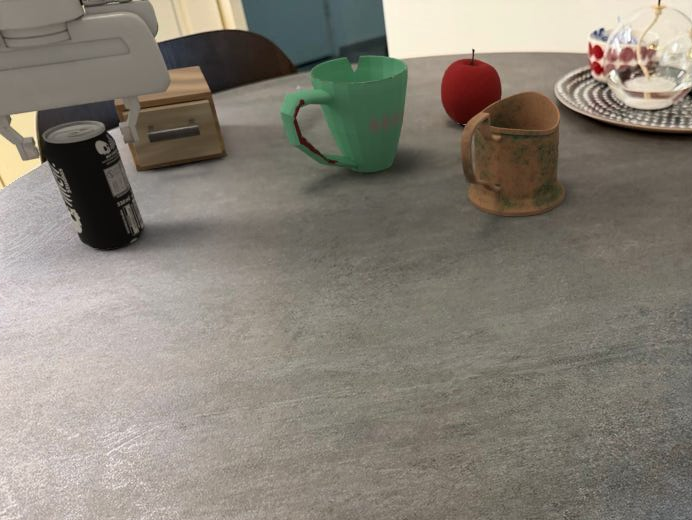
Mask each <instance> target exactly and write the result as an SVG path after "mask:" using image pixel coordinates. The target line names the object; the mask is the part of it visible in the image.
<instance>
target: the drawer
mask: <svg viewBox="0 0 692 520" xmlns="http://www.w3.org/2000/svg"><path fill="white" fill-rule="evenodd" d="M129 111H130V110H129ZM129 111H125V112H123V117H124V120H125V122H126V121H127V119H128V115H129ZM136 128H137V131H138V134H139V138H140V142H134V143H132V144H133V147H134V150H135V152H136V155H137V158H138V161H139V164H140V167H143V166H148V165H154V164H160V163H166V162H172V161H178V160H183V159H189V158H195V157H201V156H207V155H213V154H218V153H222V150H221V146H220V142H219V138H218V134H217V130H216V127H215V123H214V119H213V115H212V111H211V107H210V103H209V101H208V99H207V100H202V99H199V100H192V101H185V102H179V103H172V104H165V105H158V106H151V107H145V108H140V111H139V115H138V119H137V123H136Z"/></svg>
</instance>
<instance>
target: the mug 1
mask: <svg viewBox="0 0 692 520" xmlns="http://www.w3.org/2000/svg"><path fill="white" fill-rule="evenodd" d="M356 66H357V67H356V69H355V70H354V69H353V67H352V64H351V62H350V59H349V58H348V56H347V57H346V56H345V57H339V58H335V59H330V60H327V61H324V62H322V63H318V64H317V65H315V66H314V67H312V68H311V69H310V72H309V77H310V82H311V85H312V88H313V89H300V90H297V91H293V92H290V93H287V94H285V95H284V98H283V101H282V104H281V107H280V110H279V114H280V117H281V120H282V123H283V128H284V131H285V133H286V136H287V140H288V142H289V143H290V144H291V145H292V146H294V147H296V148H297V149H298V150H300V151H301V152H302V153H304V154H305V155H307V156H308V157H309V158H311V159H312V160H314V161H315V162H317V163H318V164H320V165H322V166H330V167H339V168H348V169H350V170H352V171H354V172H358V173H377V172H381V171H385V170H387V169H388V168H390V167H391V166H392V165H393V164H394V160H395V157H396V154H397V150H398V146H399V143H400V139H401V133H402V127H403V123H404V117H405V106H406V98H407V87H408V76H409V73H408V72H409V71H408V70H409V69H408V64H407V63H406V62H404V61H403V60H401V59H399V58H395V57H390V56H386V55H385V56H384V55H359V57H358V59H357V65H356ZM309 105H320V108H321V111H322V114H323V116H324V120H325V122H326V125H327V127H328V129H329V131H330V133H331V135H332V138H333V141H334V142H335V144H336V147H337V148H338V150H339V151H340V153H341V155H337V154H329V153H323V152H321V151H320V150H319V149H318V148H317V147H315V146H314V145H313V144H312V143H311V142H310V141H309V140H308V139H307V138H306V137H305V136H304V135H303V134H302V131H301V127H300V124H299V122H298V119H297V116H298V114H299V112H300V110H301V108H304V107H306V106H309Z"/></svg>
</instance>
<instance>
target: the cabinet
mask: <svg viewBox="0 0 692 520" xmlns="http://www.w3.org/2000/svg"><path fill="white" fill-rule="evenodd" d="M167 70H168V73H169V76H170V79H171V82H170V85H169V87H168V89H167V90H166V91H165V92H161V93H155V94H148V95H141V96H138V99H139V102H140V108H145V107H151V106H158V105H165V104H172V103H179V102H185V101H192V100H199V99H202V100H207V99H208V101H209V103H210V107H211V111H212V115H213V119H214V123H215V127H216V130H217V134H218V138H219V142H220V146H221V150H222V153H218V154H213V155H207V156H201V157H195V158H189V159H183V160H178V161H172V162H166V163H160V164H154V165H148V166H143V167H140V164H139V161H138V158H137V155H136V152H135V150H134V147H133V144H132V143H128V144H127V145H128V148H129V152H130V154H131V157H132V160H133V163H134V165H135V169H136V172H141V171H146V170H152V169H158V168H163V167H169V166H176V165H181V164H186V163H192V162H197V161H204V160H209V159H215V158H221V157H226V156H228V153H227V148H226V146H225V145H226V144H225V142H224V137H223V134H222V129H221V126H220V122H219V118H218V114H217V111H216V110H217V109H216V106H215V102H214V98H213V94H212V91H211V89H210V87H209V85H208V82H207V80H206V78H205V75H204V74H203V72H202V70H201V67H200V66H199V65H196V66H195V65H194V66H189V67H180V68H173V69H172V68H171V69H167ZM114 107H115V110H116V113H117V116H118V119H119V123H121V122H125V120H124V117H123V112H125V111H129V110H130V109H126V108H125V105H124V102H123V99H122V98H121V99H115V100H114Z"/></svg>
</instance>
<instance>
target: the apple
mask: <svg viewBox="0 0 692 520" xmlns="http://www.w3.org/2000/svg"><path fill="white" fill-rule="evenodd" d="M471 51H472V52H471V55H472V57H471V58H461V59H457V60H455V61H453V62H452V63H451V64H449V66H447V68H446V69H445V71H444V73H443V76H442V79H441V83H440V84H441V85H440V99H441V103H442V107H443V109H444V111H445V113H446V114H447V116H448V117H449V118H450V119H451V120H452V121H454V122H455V123H457V124H458V123H459V124H458V125H460V124H467V123H468V122H469V121H470V120H471V119H472V118H473V117H474V116H476V115H477V114H478V113H480V112H481V111H483V110H484V109H485V108H487V107H488V106H490V105H491V104H493V103H495V102H497V101H499V100H501V99H502V94H503V92H502V91H503V90H502V89H503V87H502V81H501V77H500V75H499V73H498V71H497V69H496V68H495V67H494V66H492V65H491V64H489V63H487V62H485V61H482V60H480V59H476V58H475V49H474V48H471Z"/></svg>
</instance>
